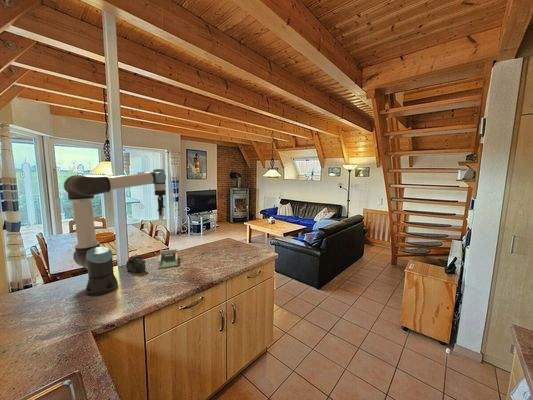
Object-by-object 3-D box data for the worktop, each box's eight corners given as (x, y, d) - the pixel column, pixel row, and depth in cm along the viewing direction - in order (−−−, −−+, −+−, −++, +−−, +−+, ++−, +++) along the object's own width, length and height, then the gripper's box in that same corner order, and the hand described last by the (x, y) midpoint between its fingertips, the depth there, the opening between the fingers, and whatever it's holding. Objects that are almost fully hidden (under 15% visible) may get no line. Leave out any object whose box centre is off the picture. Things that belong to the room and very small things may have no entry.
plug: (163, 261, 173) (163, 254, 173) (164, 258, 179) (163, 251, 178) (173, 259, 176) (173, 253, 175) (173, 257, 181) (173, 250, 181)
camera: (150, 268, 163) (149, 254, 162) (140, 274, 154) (139, 259, 152) (133, 266, 166) (132, 253, 164) (122, 272, 156) (121, 258, 155)
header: (178, 266, 166) (177, 257, 166) (157, 268, 162) (157, 259, 161) (177, 256, 185) (177, 248, 184) (159, 258, 180) (159, 250, 179)
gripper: (164, 191, 164) (166, 220, 167) (166, 188, 187) (167, 214, 190) (152, 191, 161) (154, 221, 164) (156, 188, 185) (157, 215, 187)
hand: (161, 217), depth 177 cm, fingers open, 13 cm apart
